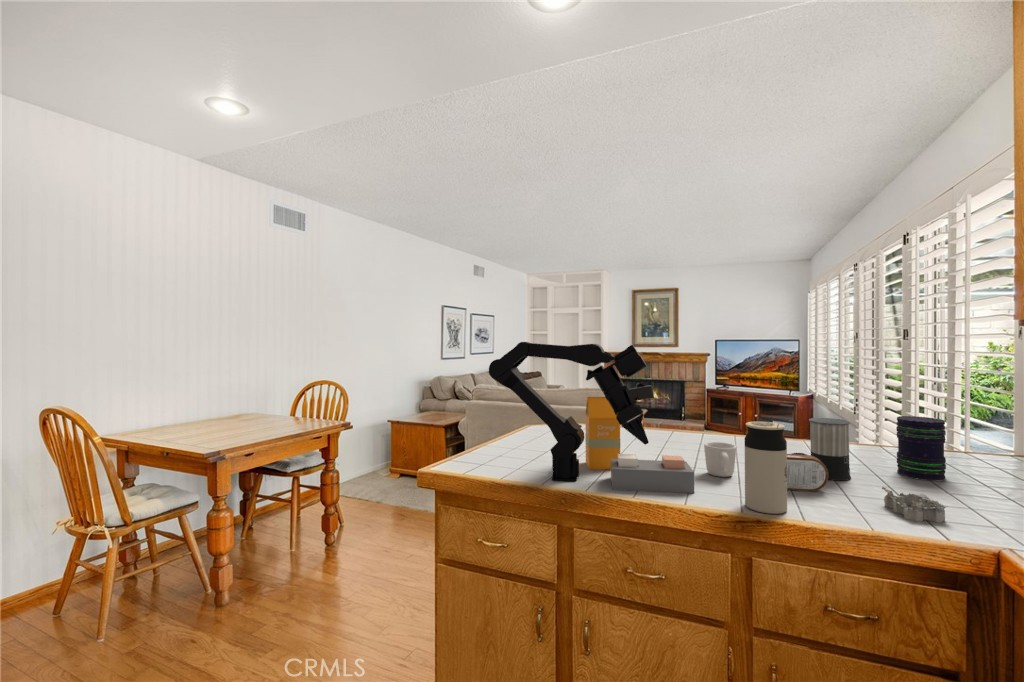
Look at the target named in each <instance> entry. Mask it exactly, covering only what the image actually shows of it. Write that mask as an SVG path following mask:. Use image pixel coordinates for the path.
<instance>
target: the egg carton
mask: <svg viewBox="0 0 1024 682" xmlns="http://www.w3.org/2000/svg"><path fill="white" fill-rule="evenodd" d="M881 490H884V491H885V492H886V493H887V494H886V495H885V496H884V498H883V500H884V501H883V502H884V507H886V508H890V509H893V512H894V513H897V514H902V515H903V518H905V519H906V520H907V519H908V520H913V521H916V522H923V521H930V522H935V523H937V524H938V523H943V522H945V521H946V510H945V509H946V508H948V507H949V506H945V505H944V504H942V503H939V501H938V500H934V499H931V498H929V496H927V494H923V493H920V494H919V493H910V492H909V493H908V494H904V493H903V492H900V493H899V495H894V493H893V492H894V491H892V490H889V489H887V488H886V487H885V486H882V488H881Z"/></svg>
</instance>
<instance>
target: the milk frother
mask: <svg viewBox="0 0 1024 682" xmlns="http://www.w3.org/2000/svg"><path fill="white" fill-rule="evenodd" d="M808 421H809V423H810V424H809V425H810V427H809V428H810V431H809V432H810V455H811V456H814V457H816V458H818V459H819V460H820V461H821V462H822V463H823V464H824V465H825V466H826V468H827V470H828V474H829V476H828V480H830V481H849V480H850V479H852V476H851V467H850V424H851V421H848V420H846V419H841V418H831V417H830V418H829V417H811V418H809V419H808ZM791 454H797V455H808V454H807V453H803V452H794V453H791Z"/></svg>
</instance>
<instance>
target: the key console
mask: <svg viewBox="0 0 1024 682" xmlns="http://www.w3.org/2000/svg"><path fill="white" fill-rule="evenodd" d="M610 482H611V489H612V490H618V491H619V490H620V491H638V492H641V491H643V492H659V493H660V492H661V493H663V492H664V493H678V494H679V493H681V494H682V493H683V494H695V471H694V470H693V468H692V467H691V466H690V464H689V463H688V462H687V461H686V460H684V469H670V468H663V466H662V460H658V459H657V460H653V459H638V467H619V466H618V459H611V469H610Z"/></svg>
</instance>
